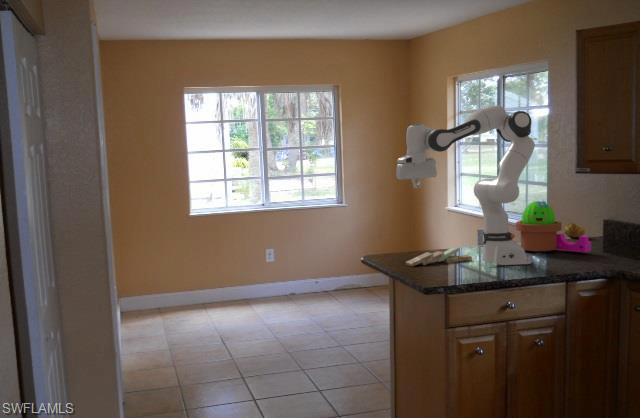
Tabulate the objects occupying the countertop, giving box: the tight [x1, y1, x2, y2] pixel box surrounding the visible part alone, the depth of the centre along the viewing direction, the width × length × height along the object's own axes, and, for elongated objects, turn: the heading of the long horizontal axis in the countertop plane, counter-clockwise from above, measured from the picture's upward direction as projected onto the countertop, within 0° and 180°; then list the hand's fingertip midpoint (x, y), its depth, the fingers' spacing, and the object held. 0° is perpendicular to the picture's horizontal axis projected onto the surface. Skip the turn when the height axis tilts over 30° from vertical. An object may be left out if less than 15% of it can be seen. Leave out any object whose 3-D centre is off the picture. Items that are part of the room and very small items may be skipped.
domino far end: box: [405, 251, 434, 267], centre depth 306 cm, size 2×5×12 cm
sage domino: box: [434, 247, 460, 263], centre depth 312 cm, size 2×5×12 cm
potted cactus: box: [515, 200, 562, 252], centre depth 336 cm, size 22×22×25 cm
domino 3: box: [442, 260, 470, 264], centre depth 313 cm, size 2×5×12 cm
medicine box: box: [477, 228, 484, 246], centre depth 355 cm, size 8×4×9 cm, turn 71°
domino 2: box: [444, 254, 473, 263], centre depth 312 cm, size 2×5×12 cm
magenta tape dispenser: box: [555, 233, 592, 253], centre depth 332 cm, size 15×6×8 cm, turn 41°
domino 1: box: [418, 250, 445, 266], centre depth 308 cm, size 2×5×12 cm
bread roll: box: [563, 222, 586, 238], centre depth 377 cm, size 13×10×8 cm
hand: (417, 188), depth 312 cm, fingers closed
